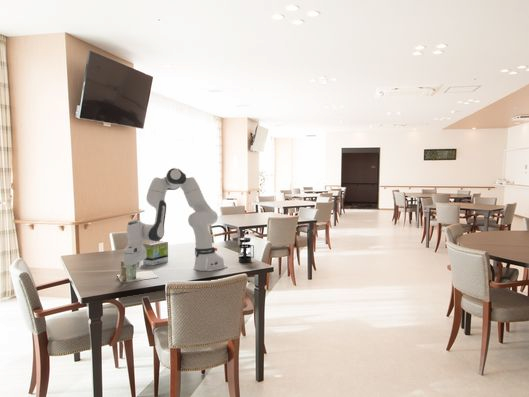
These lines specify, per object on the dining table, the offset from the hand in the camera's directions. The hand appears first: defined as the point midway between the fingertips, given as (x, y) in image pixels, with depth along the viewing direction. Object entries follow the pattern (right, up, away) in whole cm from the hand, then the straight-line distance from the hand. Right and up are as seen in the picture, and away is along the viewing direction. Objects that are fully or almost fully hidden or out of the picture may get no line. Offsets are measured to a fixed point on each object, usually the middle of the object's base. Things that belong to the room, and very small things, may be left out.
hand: (136, 269), depth 225 cm
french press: (+65, -2, +40) cm, 76 cm away
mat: (-1, -5, +4) cm, 6 cm away
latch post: (-5, -6, -8) cm, 11 cm away
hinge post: (-11, -5, +6) cm, 13 cm away
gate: (-4, -5, -1) cm, 6 cm away
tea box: (0, -3, +40) cm, 40 cm away
